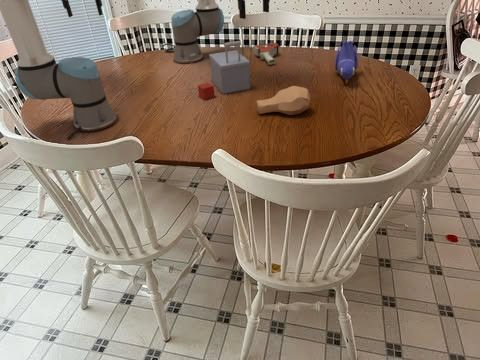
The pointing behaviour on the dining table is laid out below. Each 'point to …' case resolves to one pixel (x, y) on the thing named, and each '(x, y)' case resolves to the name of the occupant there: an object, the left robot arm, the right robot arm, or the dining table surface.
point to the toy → (346, 60)
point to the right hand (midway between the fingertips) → (254, 15)
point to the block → (206, 91)
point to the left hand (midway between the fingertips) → (85, 15)
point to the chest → (230, 77)
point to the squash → (286, 101)
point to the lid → (229, 57)
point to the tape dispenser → (266, 52)
